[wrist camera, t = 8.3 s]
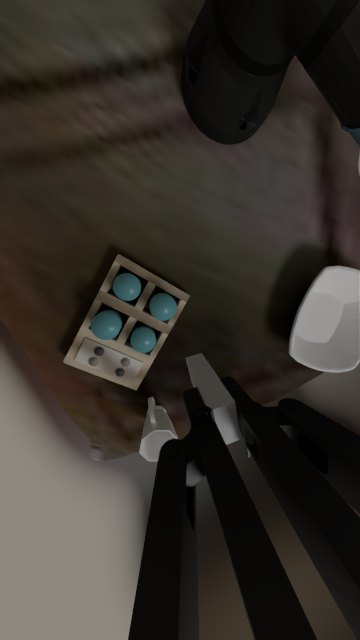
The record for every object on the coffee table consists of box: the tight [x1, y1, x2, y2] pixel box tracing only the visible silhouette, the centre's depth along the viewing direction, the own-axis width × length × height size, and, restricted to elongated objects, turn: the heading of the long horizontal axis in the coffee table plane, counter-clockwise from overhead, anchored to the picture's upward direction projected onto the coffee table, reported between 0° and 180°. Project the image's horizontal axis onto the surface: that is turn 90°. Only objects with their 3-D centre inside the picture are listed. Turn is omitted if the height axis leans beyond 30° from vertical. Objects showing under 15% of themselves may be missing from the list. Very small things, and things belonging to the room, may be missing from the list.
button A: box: [113, 273, 141, 301], centre depth 31 cm, size 4×4×3 cm
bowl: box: [289, 266, 360, 372], centre depth 40 cm, size 22×22×5 cm
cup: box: [139, 397, 178, 461], centre depth 35 cm, size 7×10×8 cm
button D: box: [131, 325, 156, 353], centre depth 33 cm, size 4×4×3 cm
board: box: [63, 254, 190, 391], centre depth 33 cm, size 21×14×2 cm, turn 150°
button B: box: [149, 293, 177, 321], centre depth 31 cm, size 4×4×3 cm
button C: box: [91, 310, 122, 340], centre depth 30 cm, size 4×4×3 cm
